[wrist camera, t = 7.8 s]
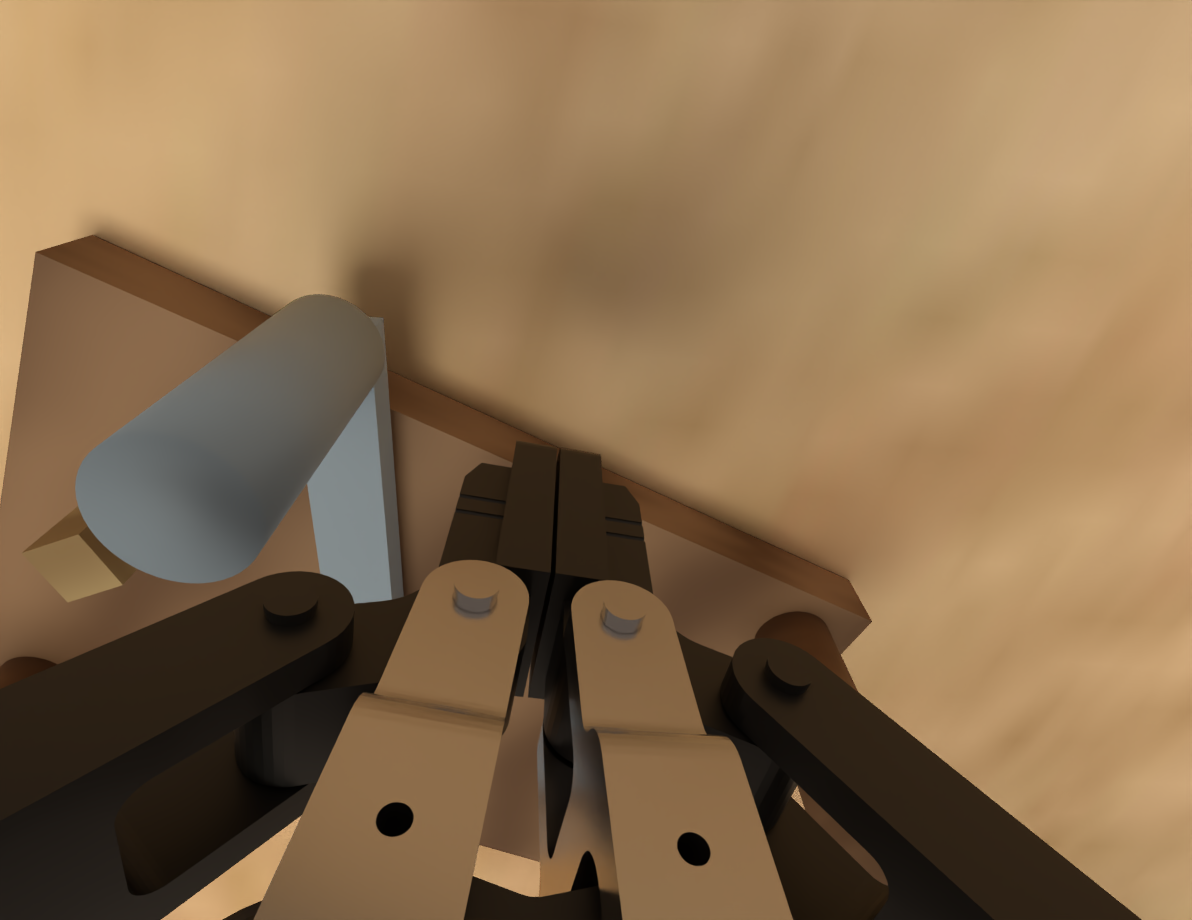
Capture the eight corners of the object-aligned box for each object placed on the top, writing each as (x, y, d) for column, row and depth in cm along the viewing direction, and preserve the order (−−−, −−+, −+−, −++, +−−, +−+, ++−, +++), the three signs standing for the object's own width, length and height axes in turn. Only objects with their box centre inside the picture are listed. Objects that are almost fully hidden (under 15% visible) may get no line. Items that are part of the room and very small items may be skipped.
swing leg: (429, 799, 24) (373, 1074, 17) (356, 796, 24) (269, 1074, 17) (398, 284, 15) (258, 439, 8) (281, 276, 15) (41, 426, 8)
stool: (849, 580, 23) (1021, 888, 14) (618, 837, 29) (637, 1155, 21) (92, 234, 17) (-442, 394, 8) (18, 656, 23) (-318, 995, 15)
